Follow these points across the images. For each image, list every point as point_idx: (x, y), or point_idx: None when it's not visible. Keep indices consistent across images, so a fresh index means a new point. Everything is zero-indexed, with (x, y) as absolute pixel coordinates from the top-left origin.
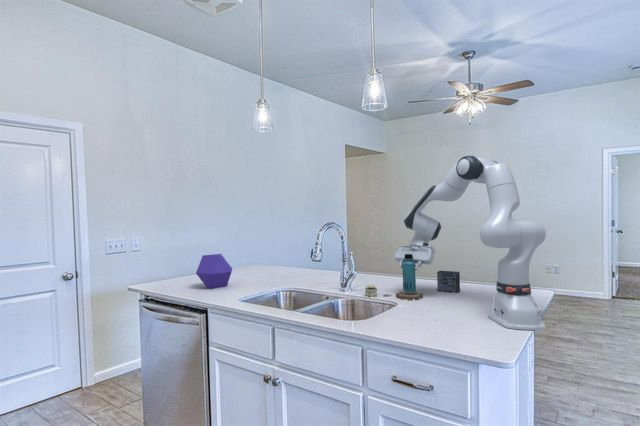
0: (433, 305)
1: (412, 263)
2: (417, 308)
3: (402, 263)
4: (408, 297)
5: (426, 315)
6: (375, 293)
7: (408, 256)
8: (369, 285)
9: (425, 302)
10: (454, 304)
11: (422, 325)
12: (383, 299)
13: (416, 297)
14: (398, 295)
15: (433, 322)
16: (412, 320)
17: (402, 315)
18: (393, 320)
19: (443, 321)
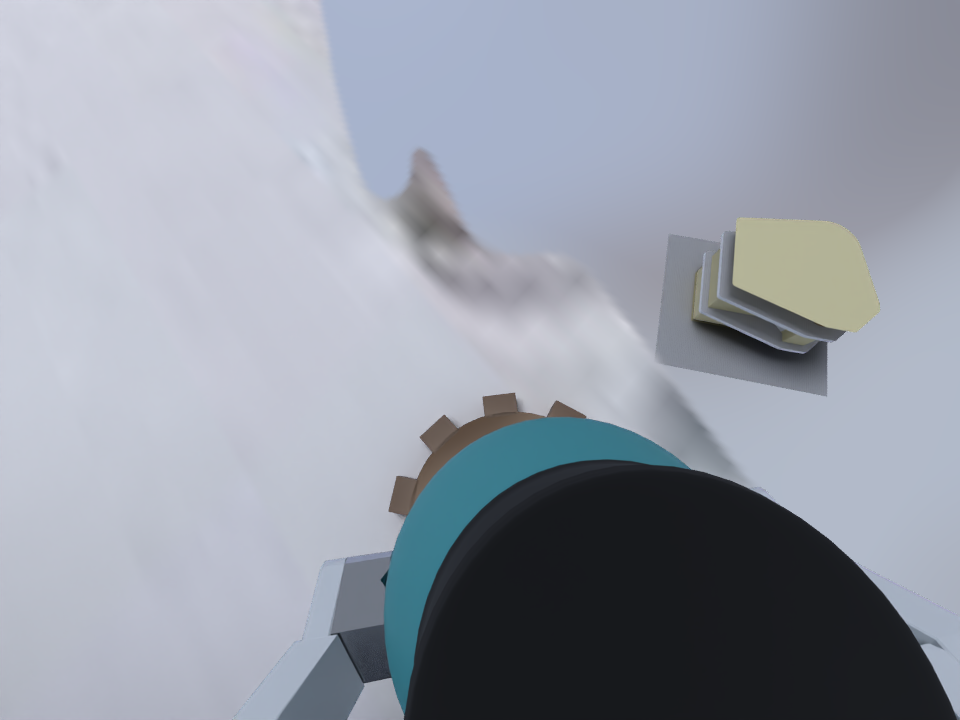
0: (209, 436)
1: (396, 562)
2: (255, 284)
3: (687, 467)
4: (441, 417)
5: (130, 202)
6: (708, 293)
7: (494, 507)
8: (836, 272)
9: (306, 470)
10: (87, 602)
11: (69, 65)
12: (595, 299)
13: (397, 476)
14: (551, 411)
15: (43, 133)
16: (148, 87)
17: (239, 113)
18: (223, 29)
19: (4, 180)
